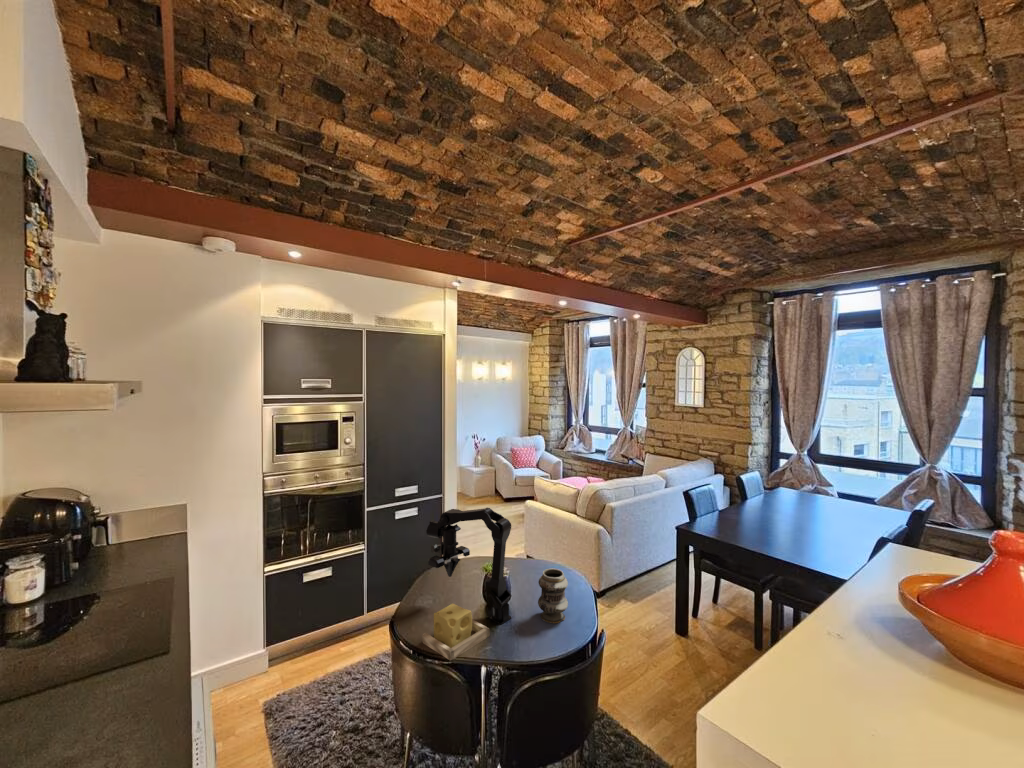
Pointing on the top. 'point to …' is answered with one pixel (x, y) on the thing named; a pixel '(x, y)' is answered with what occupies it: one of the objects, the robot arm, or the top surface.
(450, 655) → the square wooden tray
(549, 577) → the apothecary jar
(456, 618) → the cheese
